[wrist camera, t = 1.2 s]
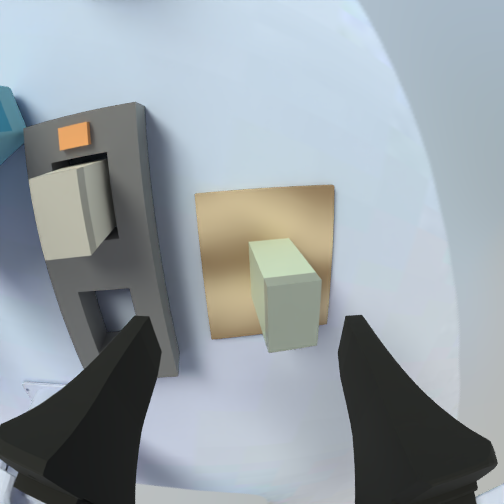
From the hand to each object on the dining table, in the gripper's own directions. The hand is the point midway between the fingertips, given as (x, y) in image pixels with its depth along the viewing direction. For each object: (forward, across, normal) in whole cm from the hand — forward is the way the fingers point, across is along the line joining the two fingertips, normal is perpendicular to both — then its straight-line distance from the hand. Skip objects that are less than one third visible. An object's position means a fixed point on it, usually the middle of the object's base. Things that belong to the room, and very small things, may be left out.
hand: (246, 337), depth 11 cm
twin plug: (+11, +11, -2) cm, 16 cm away
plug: (+12, -1, +5) cm, 13 cm away
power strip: (+10, +11, +2) cm, 15 cm away
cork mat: (+12, -1, +5) cm, 13 cm away
